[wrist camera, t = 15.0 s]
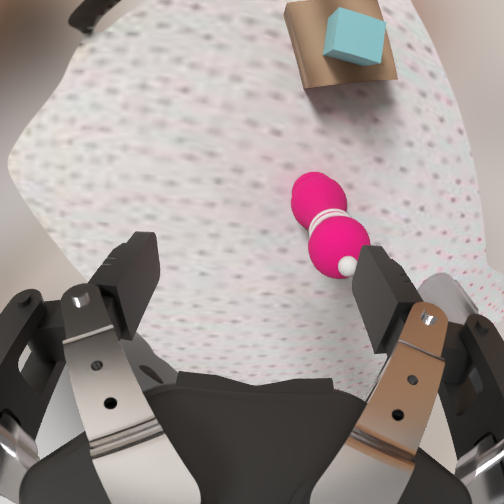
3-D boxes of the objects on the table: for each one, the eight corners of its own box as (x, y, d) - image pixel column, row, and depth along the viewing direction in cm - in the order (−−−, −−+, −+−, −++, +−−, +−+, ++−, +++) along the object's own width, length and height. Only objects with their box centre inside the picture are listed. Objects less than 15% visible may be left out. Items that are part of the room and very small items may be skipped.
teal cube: (369, 30, 24) (386, 22, 20) (364, 66, 27) (380, 63, 22) (328, 18, 24) (339, 7, 20) (322, 55, 26) (333, 49, 22)
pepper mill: (300, 160, 38) (334, 219, 21) (346, 180, 40) (405, 251, 22) (280, 205, 42) (293, 292, 25) (324, 222, 43) (361, 313, 26)
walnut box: (361, 9, 27) (376, -2, 22) (379, 80, 32) (397, 79, 27) (283, 15, 28) (287, 2, 23) (303, 88, 34) (310, 87, 29)
